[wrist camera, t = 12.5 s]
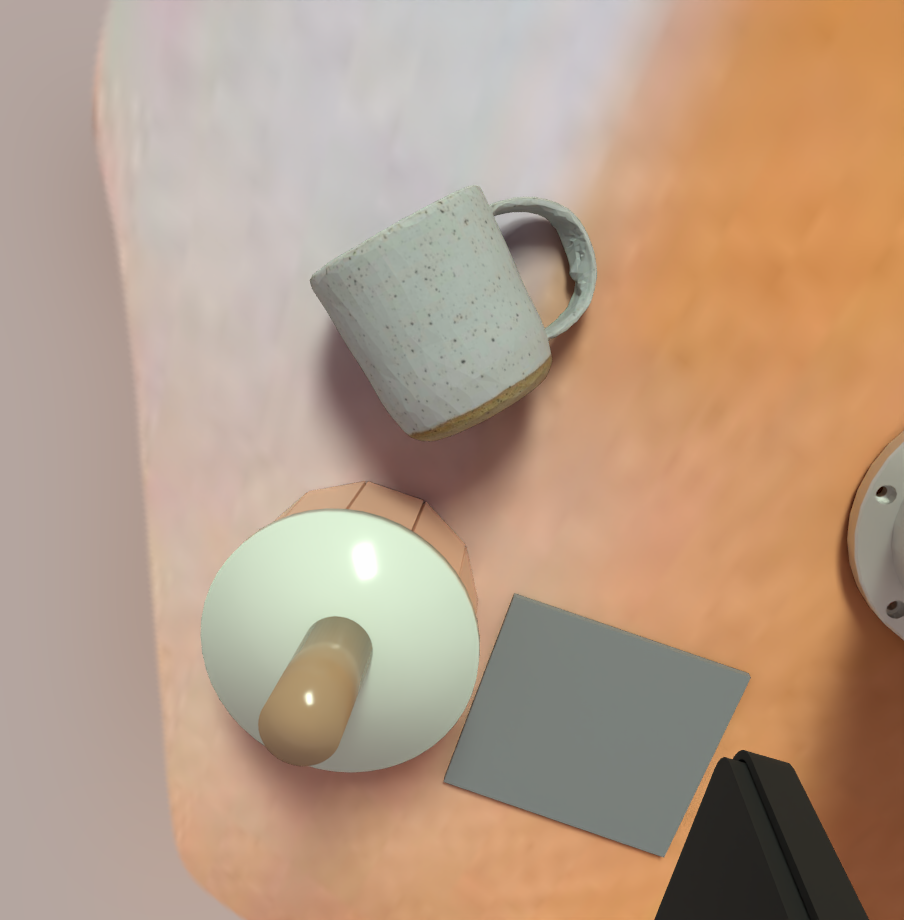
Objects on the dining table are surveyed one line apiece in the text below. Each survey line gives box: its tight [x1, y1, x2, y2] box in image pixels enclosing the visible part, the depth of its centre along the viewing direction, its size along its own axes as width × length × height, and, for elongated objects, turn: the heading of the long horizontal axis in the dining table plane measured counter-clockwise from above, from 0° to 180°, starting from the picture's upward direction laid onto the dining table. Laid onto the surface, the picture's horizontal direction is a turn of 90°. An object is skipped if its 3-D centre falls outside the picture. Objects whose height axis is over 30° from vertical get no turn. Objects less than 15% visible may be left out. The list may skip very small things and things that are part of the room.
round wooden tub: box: [275, 481, 478, 613], centre depth 37 cm, size 11×11×5 cm
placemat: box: [444, 593, 751, 857], centre depth 40 cm, size 12×11×1 cm
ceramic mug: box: [310, 185, 597, 441], centre depth 32 cm, size 11×8×8 cm
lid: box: [201, 508, 480, 772], centre depth 32 cm, size 12×12×8 cm
